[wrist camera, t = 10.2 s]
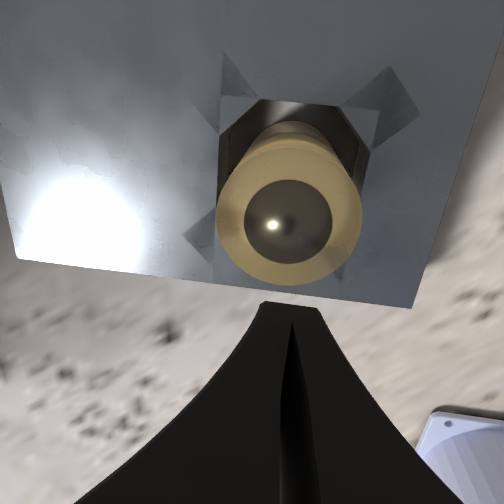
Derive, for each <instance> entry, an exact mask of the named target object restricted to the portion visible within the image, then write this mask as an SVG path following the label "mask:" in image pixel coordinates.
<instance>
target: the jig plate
mask: <svg viewBox="0 0 504 504" xmlns="http://www.w3.org/2000/svg"><path fill="white" fill-rule="evenodd" d="M503 32H504V0H0V184H1V188H2V193H3V197H4V202H5V206H6V211H7V216H8V220H9V225H10V229H11V234H12V239H13V243H14V248H15V252H16V257H17V258H20V259H27V260H35V261H43V262H51V263H59V264H66V265H74V266H82V267H90V268H97V269H105V270H113V271H121V272H129V273H136V274H144V275H152V276H160V277H167V278H175V279H183V280H191V281H199V282H206V283H214V284H222V285H230V286H237V287H245V288H253V289H261V290H269V291H276V292H284V293H292V294H300V295H307V296H315V297H323V298H331V299H339V300H346V301H354V302H362V303H370V304H378V305H385V306H393V307H401V308H409V309H412V306H413V303H414V300H415V297H416V294H417V291H418V288H419V285H420V282H421V279H422V276H423V273H424V270H425V267H426V264H427V261H428V258H429V255H430V252H431V249H432V246H433V243H434V240H435V237H436V234H437V231H438V228H439V225H440V222H441V219H442V216H443V213H444V210H445V207H446V204H447V201H448V198H449V195H450V192H451V189H452V186H453V183H454V180H455V177H456V174H457V171H458V168H459V165H460V162H461V159H462V155H463V152H464V149H465V146H466V143H467V140H468V137H469V134H470V131H471V128H472V125H473V122H474V119H475V116H476V113H477V110H478V107H479V104H480V101H481V98H482V95H483V92H484V89H485V86H486V83H487V80H488V77H489V74H490V71H491V68H492V65H493V62H494V59H495V56H496V53H497V50H498V47H499V44H500V41H501V38H502V35H503ZM262 99H268V100H278V101H289V102H299V103H309V104H319V105H329V106H335V107H336V109H337V110H338V112H339V113H340V115H341V116H342V117H343V119H344V120H345V122H346V123H347V125H348V126H349V127H350V129H351V130H352V132H353V133H354V135H355V136H356V138H357V139H358V140H359V146H358V151H357V156H356V161H355V165H354V170H353V175H352V182H353V183H354V185H355V187H356V189H357V191H358V194H359V196H360V200H361V205H362V213H363V218H362V228H361V233H360V236H359V239H358V242H357V244H356V246H355V248H354V250H353V251H352V253H351V254H350V256H349V257H348V258H347V260H346V261H345V262H344V263H343V264H342V265H341V266H340V267H339V268H337V269H336V270H335V271H333V272H332V273H331V274H329V275H327V276H325V277H323V278H322V279H319V280H317V281H314V282H311V283H307V284H302V285H295V286H284V285H276V284H271V283H267V282H264V281H261V280H259V279H257V278H254V277H252V276H251V275H249V274H247V273H246V272H244V271H243V270H242V269H241V268H239V267H238V266H237V265H236V264H235V263H234V262H233V261H232V259H231V258H230V257H229V256H228V254H227V253H226V251H225V249H224V248H223V246H222V243H221V241H220V239H219V235H218V231H217V225H216V209H217V203H218V199H219V196H220V193H221V191H222V189H223V187H224V185H225V183H226V182H227V167H228V149H229V132H230V127H232V126H233V125H234V124H235V123H236V122H237V121H238V120H239V119H240V118H242V117H243V116H244V115H245V114H246V113H247V112H248V111H249V110H250V109H252V108H253V107H254V106H255V105H256V104H257V103H258V102H259V101H260V100H262Z"/></svg>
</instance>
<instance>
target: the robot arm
mask: <svg viewBox="0 0 504 504" xmlns="http://www.w3.org/2000/svg"><path fill="white" fill-rule="evenodd" d="M74 504H504V421H503V420H496V419H489V418H482V417H475V416H468V415H461V414H454V413H447V412H440V411H437V412H434V413H432V414H431V415H430V416H429V418H428V421H427V423H426V426H425V428H424V430H423V433H422V435H421V437H420V440H419V442H418V444H417V447H416V449H415V450H414V449H413V448H412V446H411V445H410V444H409V443H408V442H407V441H406V439H405V438H404V437H403V436H402V435H401V433H400V432H399V431H398V430H397V428H396V427H395V426H394V425H393V423H392V422H391V421H390V420H389V418H388V417H387V416H386V414H385V413H384V412H383V410H382V409H381V408H380V406H379V405H378V404H377V402H376V401H375V400H374V398H373V397H372V396H371V394H370V393H369V391H368V390H367V389H366V387H365V386H364V384H363V383H362V381H361V380H360V379H359V377H358V375H357V374H356V372H355V371H354V369H353V368H352V366H351V365H350V363H349V362H348V360H347V359H346V357H345V355H344V354H343V352H342V351H341V349H340V347H339V346H338V344H337V342H336V341H335V339H334V337H333V335H332V334H331V332H330V330H329V328H328V326H327V325H326V323H325V321H324V319H323V317H322V315H321V313H320V312H319V310H318V309H317V308H313V307H306V306H298V305H291V304H284V303H277V302H269V301H264V302H263V303H261V304H260V306H259V309H258V311H257V313H256V316H255V318H254V319H253V321H252V323H251V325H250V326H249V328H248V330H247V331H246V333H245V334H244V336H243V337H242V339H241V340H240V342H239V343H238V345H237V346H236V347H235V349H234V350H233V352H232V353H231V355H230V356H229V357H228V358H227V360H226V361H225V362H224V363H223V365H222V366H221V367H220V368H219V370H218V371H217V372H216V373H215V374H214V376H213V377H212V378H211V379H210V381H209V382H208V383H207V384H206V385H205V386H204V387H203V389H202V390H201V391H200V392H199V393H198V394H197V395H196V396H195V397H194V398H193V399H192V401H191V402H190V403H189V404H188V405H187V406H186V407H185V408H184V409H183V410H182V411H181V412H180V413H179V414H178V415H177V416H176V417H175V418H174V419H173V420H172V421H171V422H170V423H169V424H167V425H166V426H165V427H164V428H163V429H162V430H161V431H160V432H159V433H158V434H157V435H156V436H155V437H153V438H152V439H151V440H150V441H149V442H148V443H147V444H146V445H145V446H144V447H143V448H141V449H140V450H139V451H138V452H137V453H136V454H135V455H133V456H132V457H131V458H130V459H129V460H128V461H126V462H125V463H124V464H123V465H122V466H120V467H119V468H118V469H117V470H115V471H114V472H113V473H112V474H110V475H109V476H108V477H107V478H105V479H104V480H103V481H102V482H100V483H99V484H98V485H97V486H95V487H94V488H93V489H92V490H90V491H89V492H88V493H87V494H85V495H84V496H83V497H81V498H80V499H79V500H78V501H76V502H75V503H74Z"/></svg>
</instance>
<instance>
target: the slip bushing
mask: <svg viewBox="0 0 504 504" xmlns="http://www.w3.org/2000/svg"><path fill="white" fill-rule="evenodd" d="M362 218H363V213H362V205H361V200H360V196H359V194H358V191H357V189H356V187H355V185H354V183H353V182H352V180H351V178H350V177H349V175H348V173H347V172H346V170H345V168H344V166H343V165H342V163H341V161H340V160H339V158H338V156H337V155H336V153H335V151H334V149H333V148H332V146H331V144H330V143H329V141H328V139H327V138H326V137H325V136H324V134H323V133H321V132H320V131H319V130H318V129H317V128H315V127H313V126H311V125H310V124H307V123H304V122H300V121H283V122H279V123H276V124H273V125H271V126H269V127H268V128H266V129H265V130H263V131H262V132H261V133H260V134H259V135H258V136H257V137H256V138H255V140H254V141H253V143H252V144H251V146H250V147H249V149H248V150H247V151H246V153H245V154H244V156H243V157H242V159H241V160H240V162H239V163H238V165H237V166H236V168H235V169H234V171H233V172H232V174H231V175H230V177H229V178H228V180H227V182H226V183H225V185H224V187H223V189H222V191H221V193H220V196H219V199H218V203H217V209H216V225H217V231H218V235H219V239H220V241H221V243H222V246H223V248H224V249H225V251H226V253H227V254H228V256H229V257H230V258H231V259H232V261H233V262H234V263H235V264H236V265H237V266H238V267H239V268H241V269H242V270H243V271H244V272H246V273H247V274H249V275H251V276H252V277H254V278H257V279H259V280H261V281H264V282H267V283H271V284H276V285H284V286H295V285H302V284H307V283H311V282H314V281H317V280H319V279H322V278H323V277H325V276H327V275H329V274H331V273H332V272H333V271H335V270H336V269H337V268H339V267H340V266H341V265H342V264H343V263H344V262H345V261H346V260H347V258H348V257H349V256H350V254H351V253H352V251H353V250H354V248H355V246H356V244H357V242H358V239H359V236H360V233H361V228H362Z"/></svg>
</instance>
